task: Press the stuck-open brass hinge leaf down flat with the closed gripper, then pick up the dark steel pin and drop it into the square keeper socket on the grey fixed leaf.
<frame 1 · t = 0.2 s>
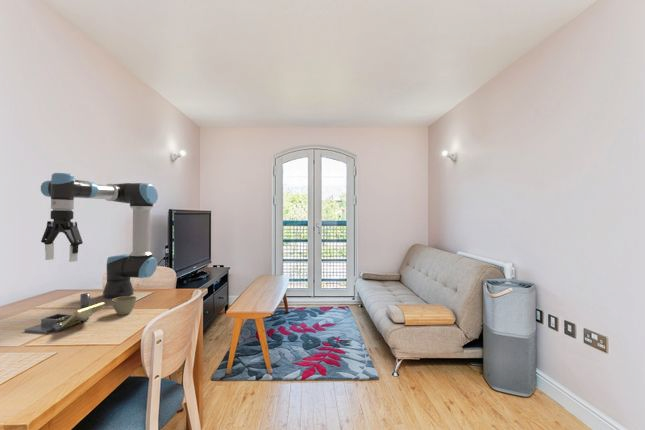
hand: (61, 260, 136), 27 cm above the table, tool pointing down, fingers open, 13 cm apart
brass leaf: (79, 315, 135), point 5 cm above the table, hinge at 40.0°
hinge base: (71, 325, 136), on the table
flower pot: (124, 313, 153), on the table
pin: (85, 315, 149), on the table
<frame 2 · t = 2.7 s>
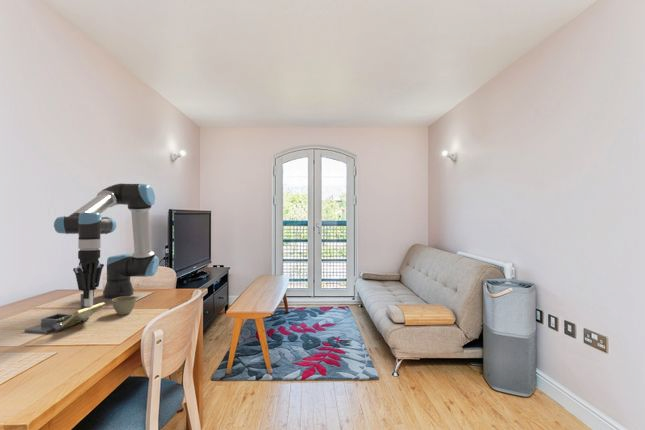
hand: (88, 305, 134), 9 cm above the table, tool pointing down, fingers closed
brass leaf: (79, 315, 135), point 5 cm above the table, hinge at 39.4°, touching gripper
everything else where it was.
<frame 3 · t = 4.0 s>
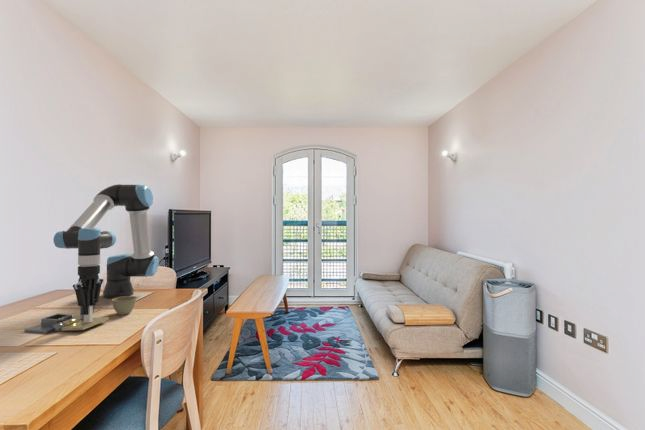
hand: (88, 321, 134), 2 cm above the table, tool pointing down, fingers closed
brass leaf: (82, 322, 135), point 2 cm above the table, hinge at 5.2°, touching gripper
everything else where it was.
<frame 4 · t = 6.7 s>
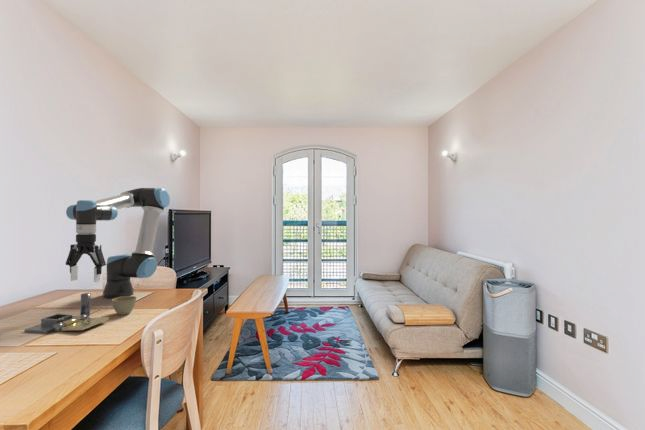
hand: (85, 280, 149), 16 cm above the table, tool pointing down, fingers open, 11 cm apart
brass leaf: (82, 322, 135), point 2 cm above the table, hinge at 5.2°
everything else where it was.
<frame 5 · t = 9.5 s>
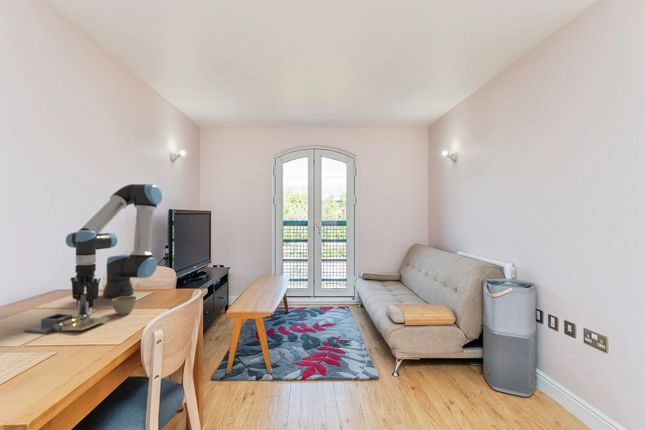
hand: (85, 314, 149), 1 cm above the table, tool pointing down, fingers closed on pin, 3 cm apart
pin: (85, 315, 149), on the table, touching gripper
everything else where it was.
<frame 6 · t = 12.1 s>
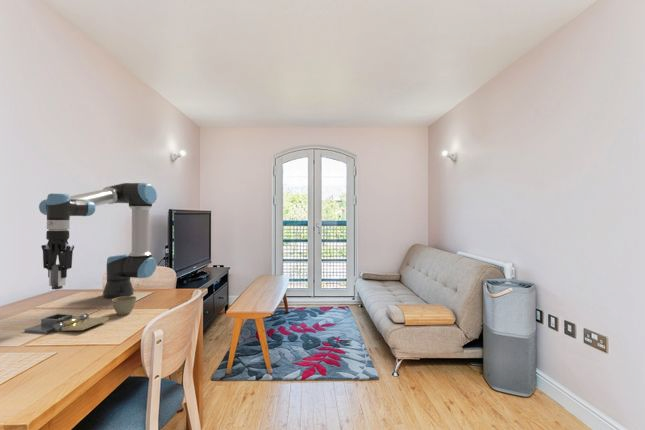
hand: (57, 285, 136), 17 cm above the table, tool pointing down, fingers closed on pin, 3 cm apart
pin: (57, 288, 136), point 16 cm above the table, touching gripper
everything else where it was.
when the fingers open (5 cm above the table, at t = 14.7 s): pin drops 2 cm, resting on hinge base.
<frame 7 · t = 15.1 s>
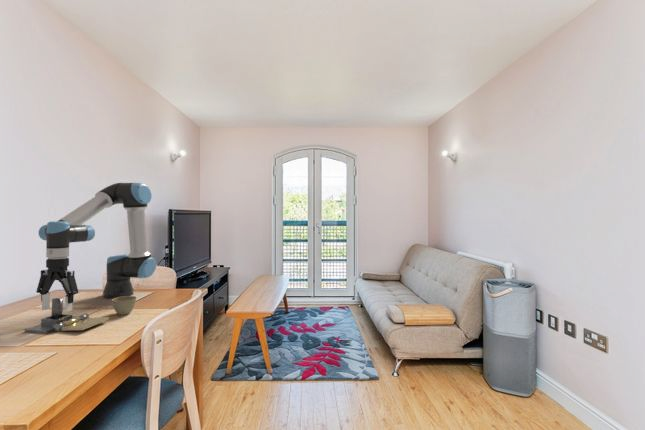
hand: (57, 310, 137), 6 cm above the table, tool pointing down, fingers open, 10 cm apart
pin: (56, 322, 137), point 1 cm above the table, touching hinge base
everything else where it was.
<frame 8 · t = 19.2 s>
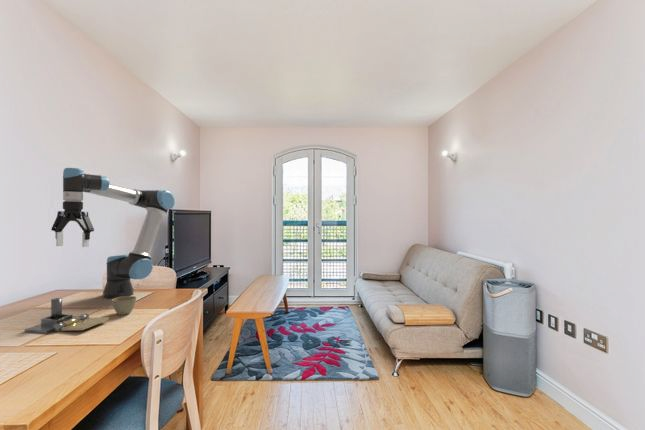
hand: (72, 246, 151), 32 cm above the table, tool pointing down, fingers open, 13 cm apart
nothing on the table moved.
at the end: brass leaf at +5° (first picture: +40°); pin 0.1 cm from the target spot on the hinge base, point 1.0 cm above the hinge base's base; the gripper is holding nothing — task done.
